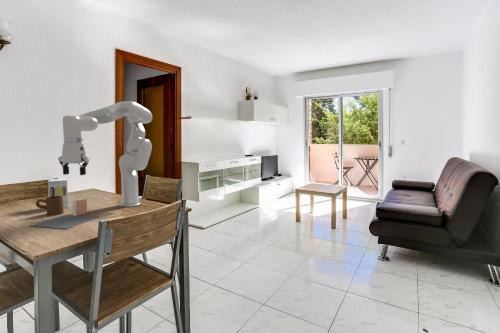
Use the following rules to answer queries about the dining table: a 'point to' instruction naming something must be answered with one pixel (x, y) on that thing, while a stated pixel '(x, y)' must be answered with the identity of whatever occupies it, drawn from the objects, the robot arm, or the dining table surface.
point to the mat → (64, 222)
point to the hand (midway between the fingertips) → (74, 174)
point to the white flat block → (79, 207)
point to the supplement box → (58, 189)
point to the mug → (52, 205)
